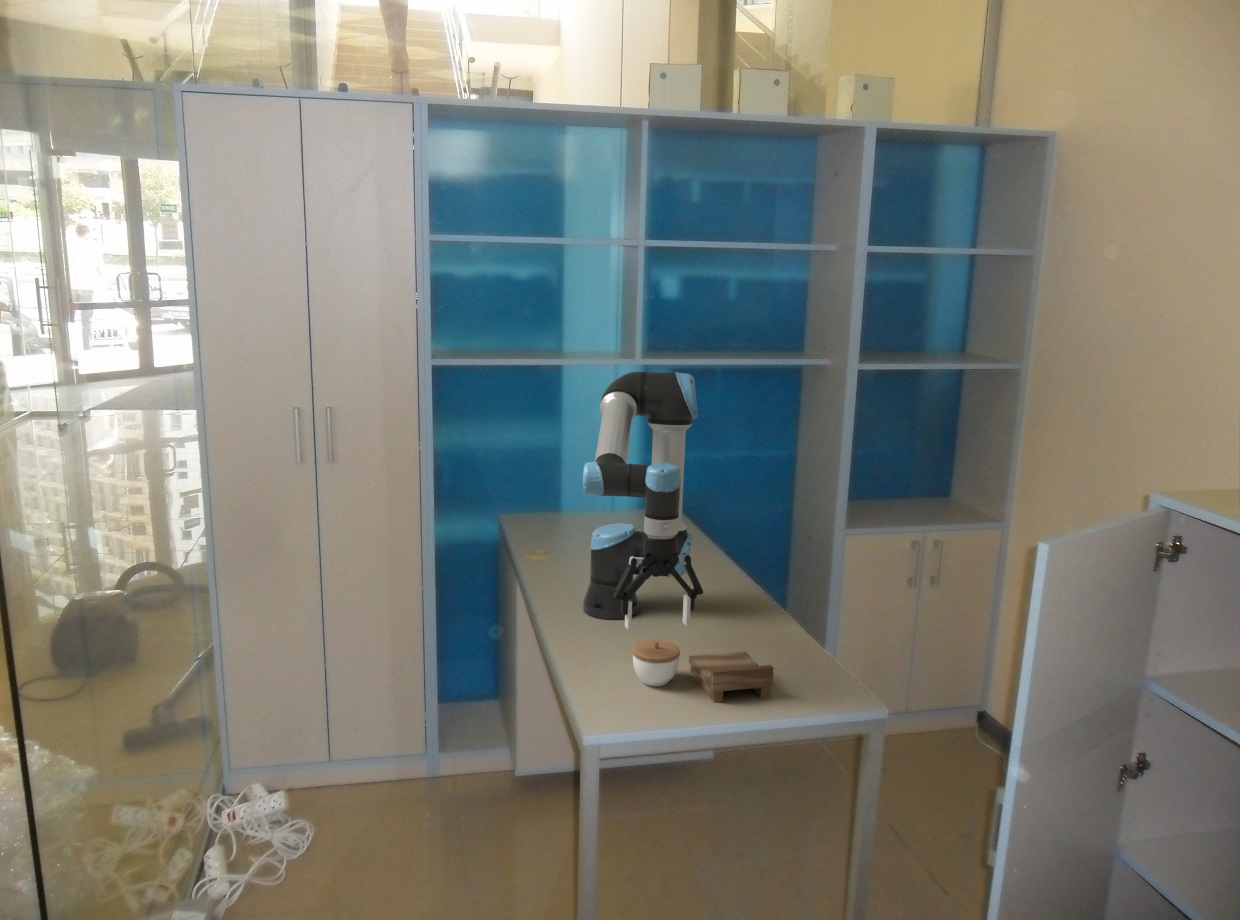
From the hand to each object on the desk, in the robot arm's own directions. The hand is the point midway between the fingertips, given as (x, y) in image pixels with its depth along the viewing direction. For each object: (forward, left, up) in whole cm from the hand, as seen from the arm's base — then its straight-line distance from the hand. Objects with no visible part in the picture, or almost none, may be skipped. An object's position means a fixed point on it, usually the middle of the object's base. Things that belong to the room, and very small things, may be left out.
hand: (657, 626), depth 220 cm
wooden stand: (+5, +16, -13) cm, 21 cm away
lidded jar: (0, 0, -14) cm, 14 cm away
